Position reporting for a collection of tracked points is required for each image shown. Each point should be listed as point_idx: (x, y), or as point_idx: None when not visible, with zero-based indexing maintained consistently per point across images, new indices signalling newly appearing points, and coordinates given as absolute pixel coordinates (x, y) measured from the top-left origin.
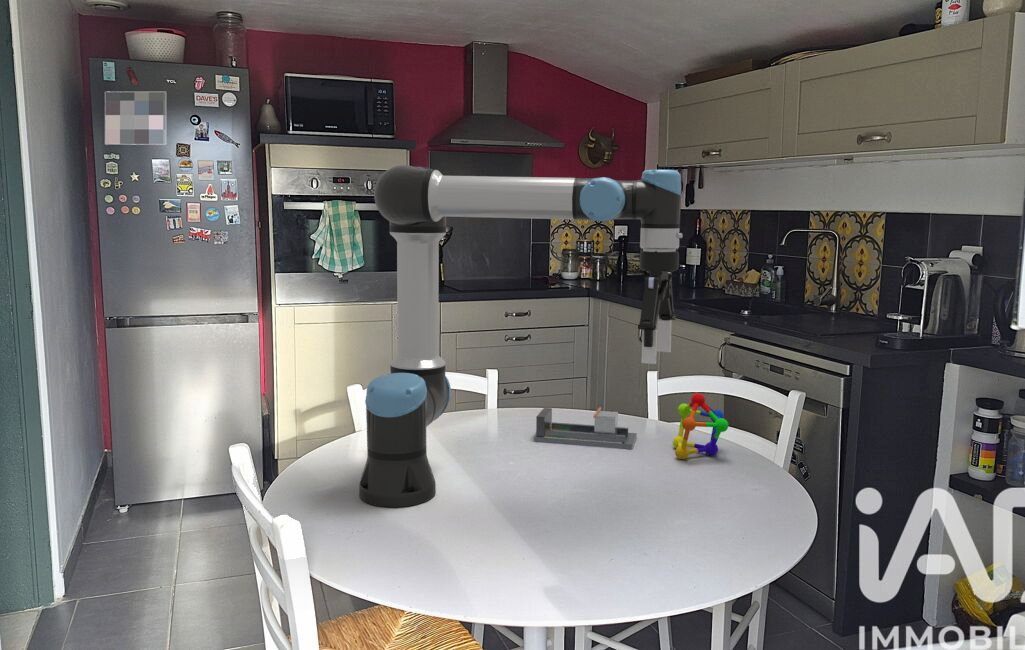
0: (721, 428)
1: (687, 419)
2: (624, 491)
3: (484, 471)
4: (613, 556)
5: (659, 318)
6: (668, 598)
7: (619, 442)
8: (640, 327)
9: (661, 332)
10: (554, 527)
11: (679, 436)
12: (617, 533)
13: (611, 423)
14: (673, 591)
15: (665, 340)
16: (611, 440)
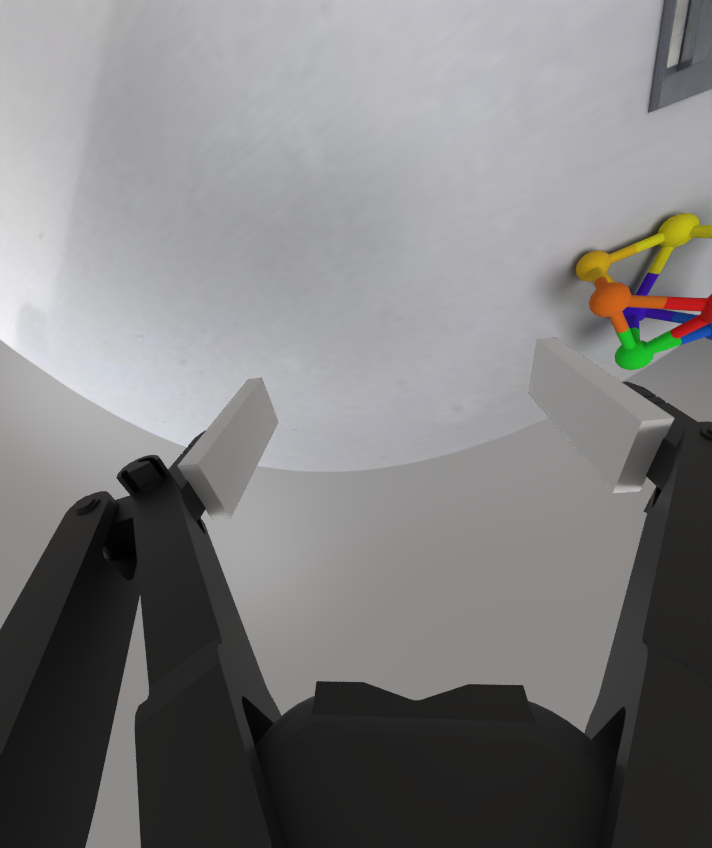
0: (615, 357)
1: (607, 301)
2: (353, 242)
3: None
4: (148, 335)
5: (687, 428)
6: (127, 411)
7: (673, 55)
8: (103, 491)
9: (581, 401)
10: (145, 214)
11: (689, 231)
12: (203, 310)
13: None
14: (141, 410)
15: (554, 400)
16: (689, 15)
